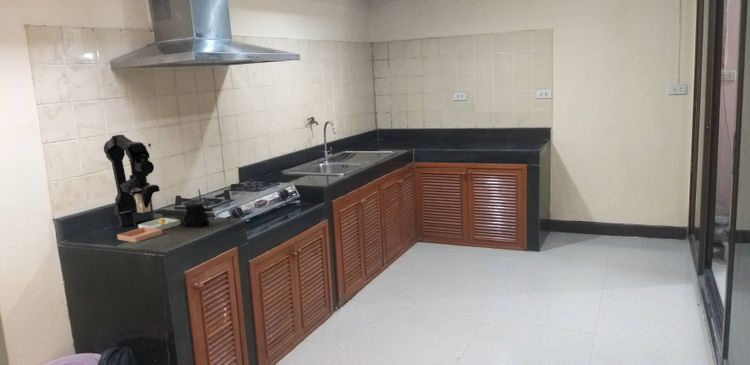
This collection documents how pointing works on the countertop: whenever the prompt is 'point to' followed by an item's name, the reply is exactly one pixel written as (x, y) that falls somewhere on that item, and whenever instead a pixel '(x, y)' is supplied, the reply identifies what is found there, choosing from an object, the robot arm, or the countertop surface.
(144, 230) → the terracotta dish
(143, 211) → the birch block
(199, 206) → the toy
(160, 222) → the mustard ball
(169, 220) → the grey tub
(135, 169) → the robot arm
